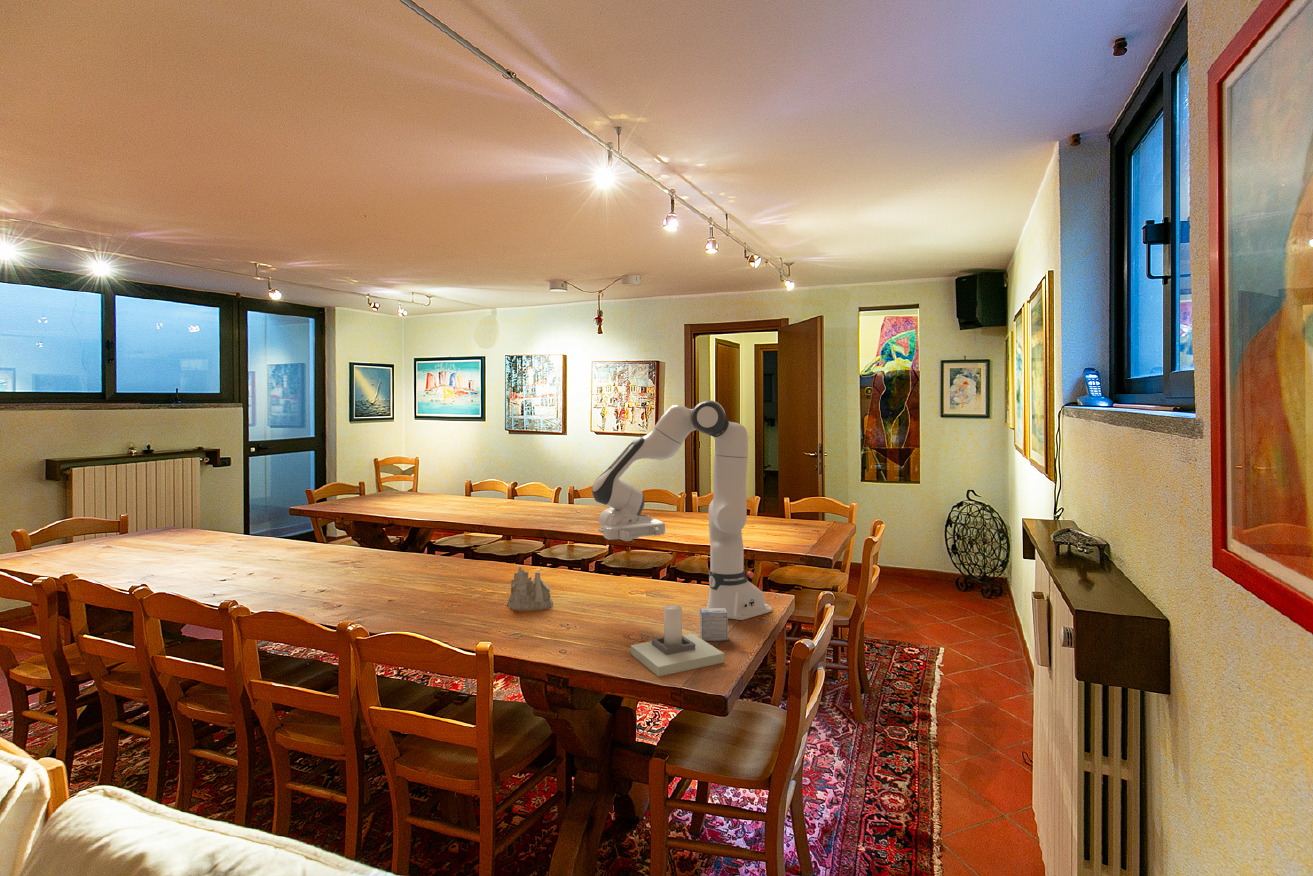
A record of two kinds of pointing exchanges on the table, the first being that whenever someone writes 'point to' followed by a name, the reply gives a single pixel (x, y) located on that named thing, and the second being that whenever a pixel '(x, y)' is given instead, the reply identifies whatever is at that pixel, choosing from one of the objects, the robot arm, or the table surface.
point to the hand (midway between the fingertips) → (644, 534)
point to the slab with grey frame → (676, 655)
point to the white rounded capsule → (672, 626)
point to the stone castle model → (529, 592)
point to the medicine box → (714, 624)
